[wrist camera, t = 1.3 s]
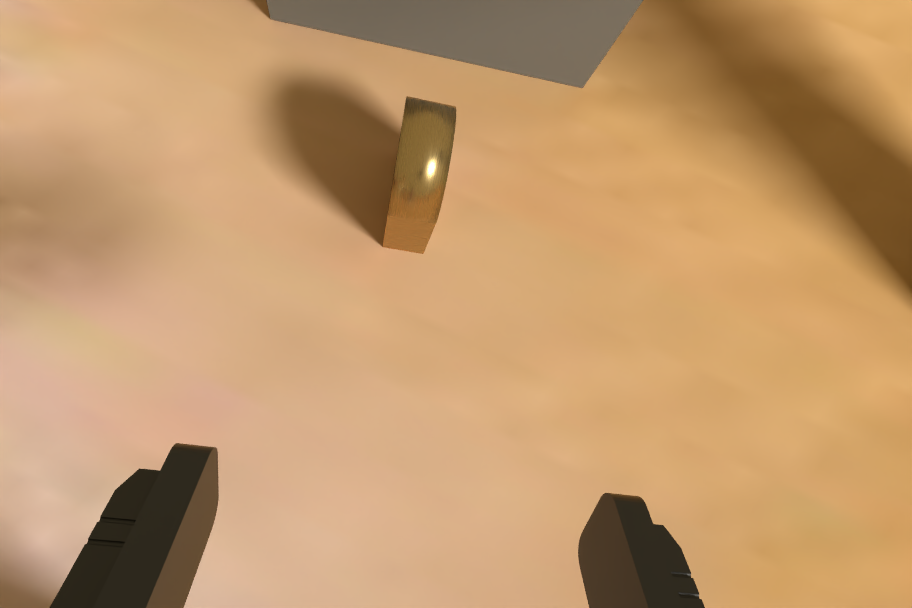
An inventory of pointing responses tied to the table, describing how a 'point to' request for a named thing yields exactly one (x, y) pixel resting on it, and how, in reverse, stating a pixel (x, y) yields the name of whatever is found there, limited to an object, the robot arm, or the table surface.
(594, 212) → the table surface
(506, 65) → the coin box
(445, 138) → the token
